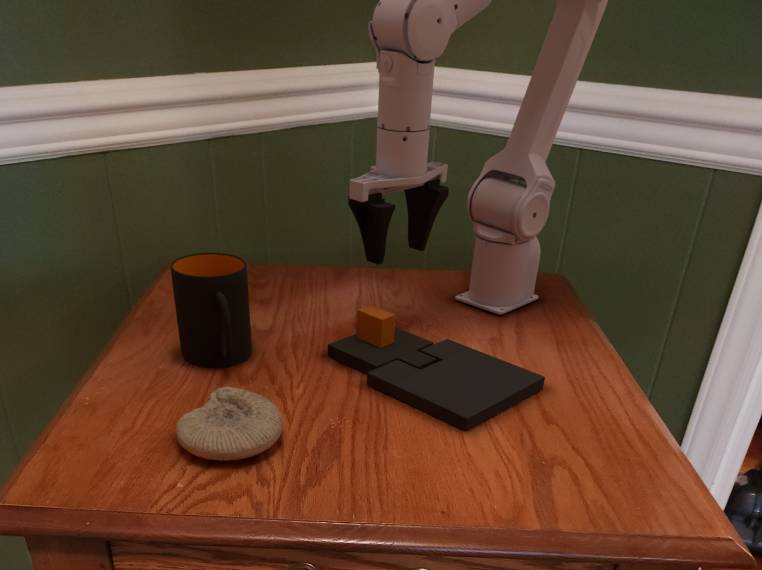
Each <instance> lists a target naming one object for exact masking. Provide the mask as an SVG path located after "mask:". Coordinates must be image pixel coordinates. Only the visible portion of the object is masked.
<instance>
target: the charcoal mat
mask: <svg viewBox="0 0 762 570" xmlns="http://www.w3.org/2000/svg"><path fill="white" fill-rule="evenodd" d="M420 352H421V353H424V354H426V355H428V356H431V357H433V358H436V363H435V364H432V365H430V366H428V367H426V368H423V369H421V370H420V369H417V368H415V367H413V366H410V365H408V364H406V363H403V362H401V361H399V360H396V361H393V362H391V363H389V364H386V365H384V366H382V367H379V368H377V369H375V370H372V371H370V372H368V373H367V374H366V386H368V387H370V388H372V389H375V390H377V391H379V392H380V393H383V394H385V395H388V396H390V397H392V398H394V399H396V400H398V401H401V402H402V403H404V404H406V405H409V406H411V407H413V408H414V409H417V410H419V411H422V412H424V413H426V414H428V415H431V416H432V417H434V418H436V419H439V420H440V421H443V422H445V423H447V424H449V425H451V426H453V427H455V428H458V429H459V430H462V431H464V432H468V431H469V430H471V429H473V428H475V427H476V426H478V425H481V424H482V423H484V422H486V421H487V420H489V419H491V418H493V417H495V416H496V415H499V414H500V413H502V412H503V411H505V410H508V409H510V408H511V407H513V406H515V405H517V404H518V403H520V402H522V401H524V400H526V399H527V398H529V397H532V396H533V395H534V394H536V393H538V392H540V391H542V390H543V389H544V385H545V381H546V376H544V375H542V374H539V373H536V372H534V371H532V370H529V369H527V368H524V367H521V366H518V365H516V364H513V363H511V362H508V361H505V360H503V359H500V358H498V357H495V356H492V355H490V354H488V353H486V352H483V351H480V350H477V349H474V348H472V347H469V346H467V345H464V344H462V343H460V342H456V341H454V340H452V339H449V338H445V339H443V340H440V341H438V342H436V343H434V344H433V345H431V346H429V347H426V348H424V349H422V350H420Z"/></svg>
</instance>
